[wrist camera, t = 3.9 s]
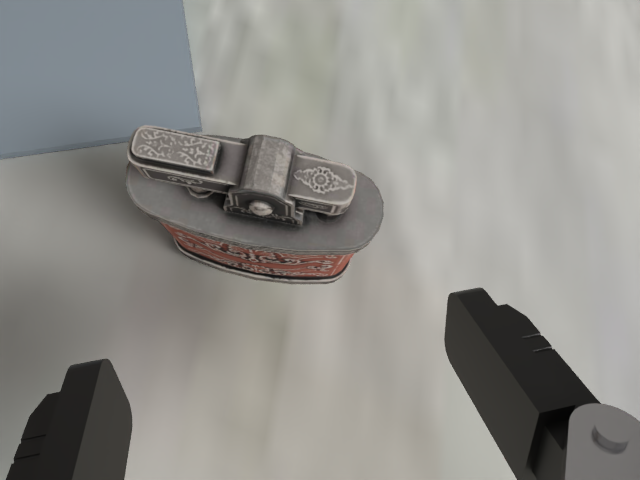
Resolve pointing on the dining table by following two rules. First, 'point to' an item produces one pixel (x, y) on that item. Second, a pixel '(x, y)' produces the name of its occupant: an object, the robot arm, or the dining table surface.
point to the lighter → (253, 203)
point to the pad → (92, 73)
